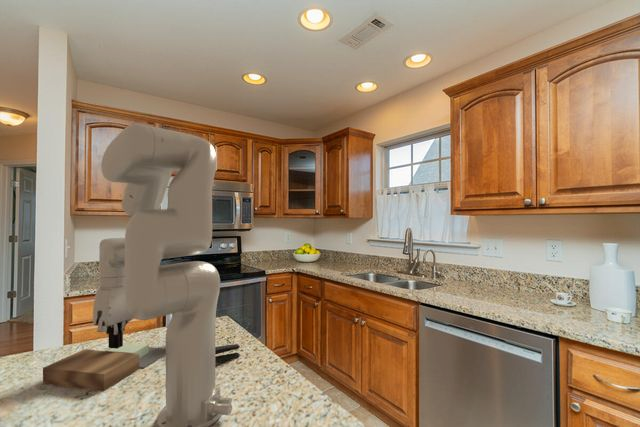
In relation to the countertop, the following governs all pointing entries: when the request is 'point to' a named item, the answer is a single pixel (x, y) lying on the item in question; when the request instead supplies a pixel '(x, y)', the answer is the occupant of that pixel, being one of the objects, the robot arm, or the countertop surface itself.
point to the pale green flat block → (132, 349)
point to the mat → (151, 356)
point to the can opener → (228, 356)
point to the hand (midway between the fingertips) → (115, 347)
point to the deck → (91, 369)
